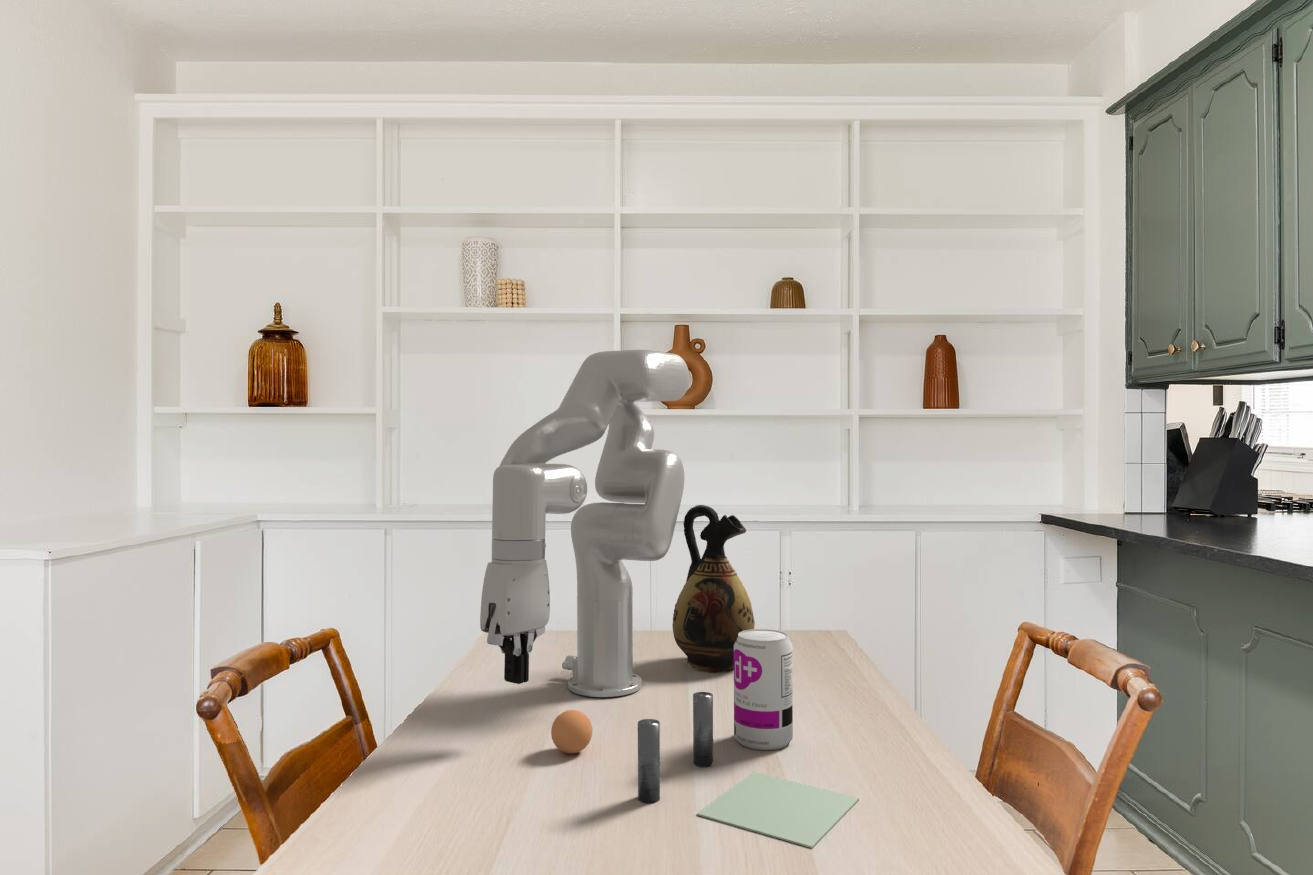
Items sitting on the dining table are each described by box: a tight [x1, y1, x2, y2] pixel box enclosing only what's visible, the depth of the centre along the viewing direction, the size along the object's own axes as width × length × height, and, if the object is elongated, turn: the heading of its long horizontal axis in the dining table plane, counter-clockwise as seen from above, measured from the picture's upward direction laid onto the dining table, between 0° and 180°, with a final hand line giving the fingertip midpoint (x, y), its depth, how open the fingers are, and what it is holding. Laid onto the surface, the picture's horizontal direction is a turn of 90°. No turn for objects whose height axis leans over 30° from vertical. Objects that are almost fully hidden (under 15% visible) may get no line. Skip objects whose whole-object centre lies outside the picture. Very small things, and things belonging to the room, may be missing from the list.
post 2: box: [692, 691, 714, 768], centre depth 110 cm, size 3×3×9 cm
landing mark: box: [696, 771, 860, 849], centre depth 97 cm, size 14×14×1 cm
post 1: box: [637, 718, 661, 804], centre depth 99 cm, size 3×3×9 cm
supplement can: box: [733, 628, 794, 751], centre depth 118 cm, size 8×8×15 cm
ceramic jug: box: [672, 504, 756, 674], centre depth 157 cm, size 17×15×30 cm
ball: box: [550, 709, 593, 754], centre depth 114 cm, size 6×6×6 cm
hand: (516, 681), depth 118 cm, fingers closed
